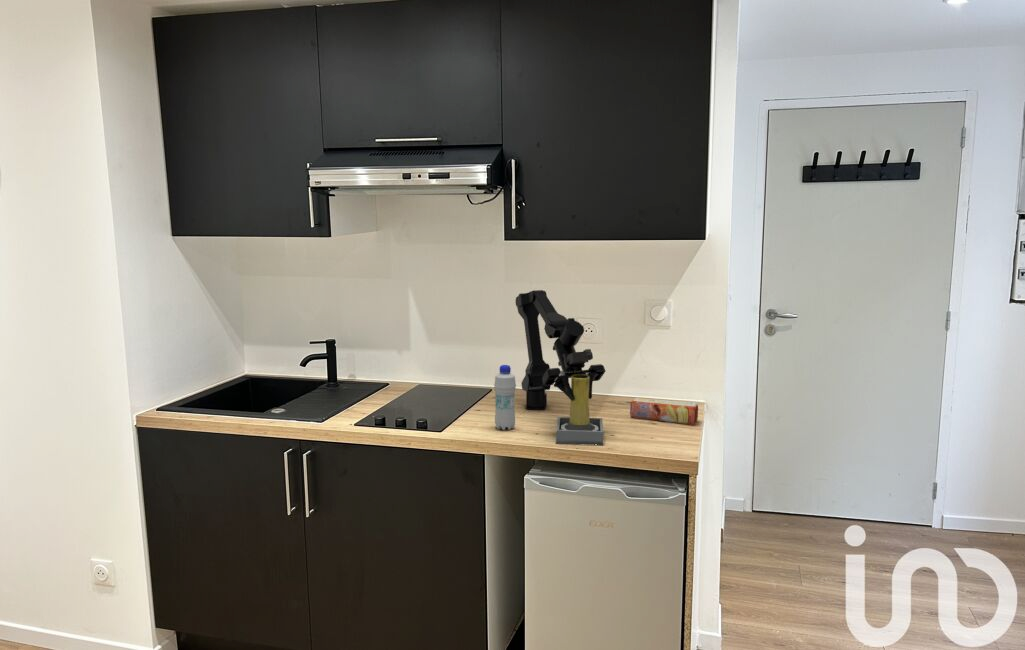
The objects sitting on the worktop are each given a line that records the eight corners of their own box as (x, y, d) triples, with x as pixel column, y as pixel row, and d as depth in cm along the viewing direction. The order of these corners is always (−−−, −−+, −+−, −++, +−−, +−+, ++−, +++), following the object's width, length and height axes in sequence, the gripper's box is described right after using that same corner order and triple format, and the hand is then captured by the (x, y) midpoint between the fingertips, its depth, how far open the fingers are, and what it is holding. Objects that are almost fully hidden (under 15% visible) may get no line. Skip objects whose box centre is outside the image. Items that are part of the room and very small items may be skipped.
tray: (555, 443, 219) (556, 430, 218) (557, 429, 232) (557, 416, 231) (603, 445, 217) (603, 432, 217) (601, 430, 231) (602, 418, 230)
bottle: (513, 431, 229) (514, 367, 226) (492, 430, 230) (492, 366, 227) (517, 425, 236) (517, 362, 232) (496, 424, 237) (496, 362, 233)
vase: (586, 427, 220) (587, 379, 218) (566, 424, 222) (567, 377, 220) (592, 421, 226) (593, 374, 223) (572, 418, 228) (573, 372, 225)
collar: (560, 439, 220) (560, 432, 219) (561, 427, 230) (561, 421, 230) (598, 440, 219) (598, 433, 218) (597, 428, 229) (597, 422, 229)
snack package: (628, 419, 244) (629, 398, 243) (634, 413, 250) (634, 393, 249) (695, 427, 235) (695, 406, 234) (699, 421, 241) (700, 401, 240)
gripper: (546, 342, 220) (561, 388, 212) (603, 338, 227) (620, 382, 218) (535, 362, 229) (549, 407, 221) (591, 358, 235) (606, 401, 227)
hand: (582, 399), depth 221 cm, fingers closed on vase, 5 cm apart
